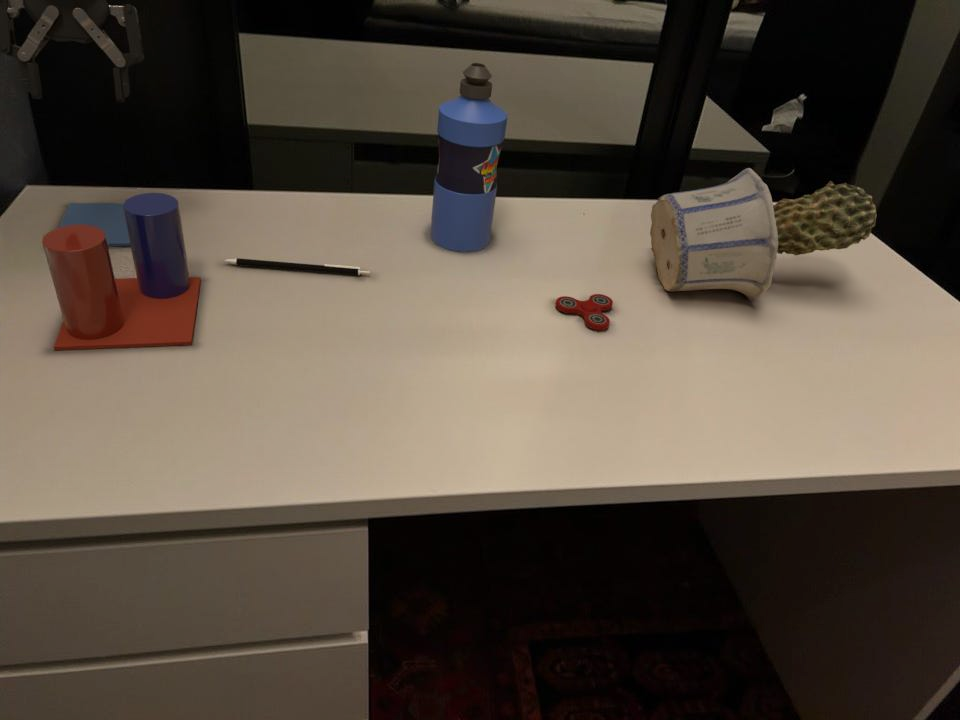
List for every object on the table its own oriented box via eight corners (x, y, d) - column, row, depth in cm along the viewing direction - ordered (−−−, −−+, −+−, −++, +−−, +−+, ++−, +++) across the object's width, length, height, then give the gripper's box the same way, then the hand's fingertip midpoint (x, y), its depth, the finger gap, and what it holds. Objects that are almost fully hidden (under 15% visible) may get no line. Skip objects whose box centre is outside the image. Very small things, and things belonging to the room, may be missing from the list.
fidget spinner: (605, 299, 101) (607, 291, 100) (628, 329, 95) (631, 321, 95) (551, 303, 99) (553, 294, 98) (572, 334, 93) (574, 326, 92)
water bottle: (417, 238, 109) (428, 63, 94) (449, 217, 116) (465, 50, 101) (471, 258, 106) (492, 81, 91) (501, 235, 113) (525, 66, 98)
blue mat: (51, 247, 96) (50, 243, 96) (70, 206, 105) (69, 203, 105) (150, 246, 99) (149, 243, 99) (160, 206, 108) (160, 203, 108)
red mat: (54, 350, 80) (53, 346, 79) (79, 282, 90) (79, 279, 90) (192, 345, 83) (191, 341, 83) (201, 280, 94) (200, 276, 93)
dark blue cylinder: (135, 299, 88) (118, 215, 81) (142, 274, 92) (126, 192, 86) (188, 298, 89) (175, 215, 83) (192, 273, 94) (180, 192, 87)
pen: (369, 277, 98) (369, 269, 98) (223, 265, 97) (222, 257, 96) (370, 273, 99) (370, 266, 99) (225, 261, 98) (224, 254, 97)
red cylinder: (60, 340, 80) (35, 251, 74) (72, 310, 85) (49, 224, 78) (119, 338, 82) (100, 251, 75) (127, 309, 86) (109, 224, 80)
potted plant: (683, 219, 90) (924, 176, 90) (640, 167, 104) (847, 130, 105) (680, 337, 100) (896, 298, 100) (641, 274, 115) (830, 240, 115)
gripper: (136, -48, 84) (150, 102, 90) (-8, -64, 80) (16, 96, 85) (129, -58, 77) (144, 105, 83) (-29, -76, 73) (-2, 98, 79)
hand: (79, 100), depth 84 cm, fingers open, 8 cm apart
